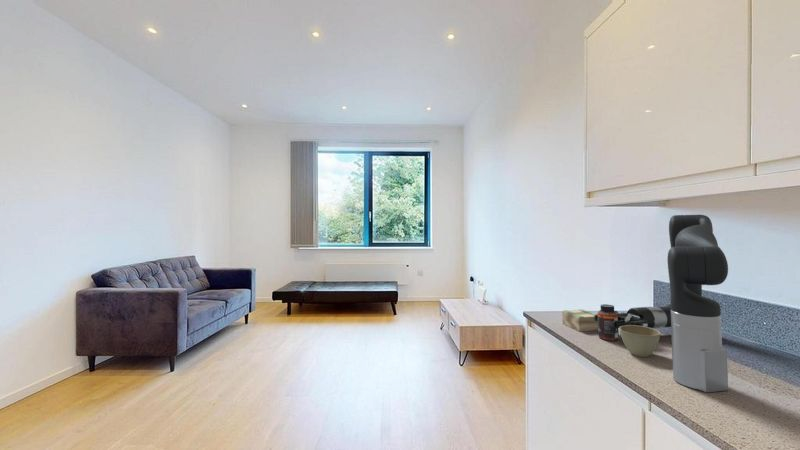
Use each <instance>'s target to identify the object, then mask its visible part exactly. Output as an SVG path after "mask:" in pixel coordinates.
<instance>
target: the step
mask: <svg viewBox="0 0 800 450" xmlns="http://www.w3.org/2000/svg"><path fill="white" fill-rule="evenodd" d="M561 313H562V325H564V324H565V326H566V325H567V326H566V327H568V328H571V329H573V330H575V329H576V330H575V331H577V330H578V331H577V332H588V331H598V321H595V314H596V313H594V312H590V311H587V310H585V309H574V310H573V309H572V310H567V309H565V310H562V311H561Z"/></svg>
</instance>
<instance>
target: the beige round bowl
mask: <svg viewBox="0 0 800 450" xmlns="http://www.w3.org/2000/svg"><path fill="white" fill-rule="evenodd" d="M618 330H619V333H620V334H619V335H620V337H621V339H622V341H623V344H624V346H625V347H626V349H627V351H628V352H629V353H630V354H631V355H634V356H637V357H641V358H643V357H644V358H645V357H646V358H648V357H650V356H651V355H652V354H653V353H654V352H655V350H656V348H657V346H658V345H659V341H660V338H661V337H660V336H661V332H660V331H659V330H658V329H652V328H649V327H644V326H636V325H625V326H621V327H620V328H618Z"/></svg>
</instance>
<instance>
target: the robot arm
mask: <svg viewBox="0 0 800 450" xmlns="http://www.w3.org/2000/svg"><path fill="white" fill-rule="evenodd" d="M668 222H669V223H668V234H669V243H670V248H669V250H668V252H667V260H666V261H667V269H668V270H667V271H668V278H669V280H668V281H669V288H670V289H669V292H670V293H669V294H670V304H667V305H665V306H640V307H638V306H637V307H630V308H629V309H628V310H627V311H626V312H625V311H624V312H619V311H617V310H614V311H615V312H616V313H617V314H618V321H613V322H612V326H613V328H618V329H619V328H620V327H621V326H625V325H636V326H644V327H649V328H652V329H655V330H659V329H662V328H663V329H664V328H671V329H670V330H671V331H670V332H671V333H670V334H671V355H672V356H671V357H672V360H671V361H672V377H673V378H672V379H673V380H674V381H675V382H677V383H679V384H680V385H682V386H684V387H688V388H690V389H695V390H699V391H702V392H704V393H714V392H724V391H729V370H728V349H726V348H725V347H723V339H722V335H723V334H722V314H721V304H720V303H719V302H718V301H715V300H714V299H711V298H707V297H705V296H703V294H702V293H703V292H702V291H703V289H702V287H703V286H718V285H722V284H723V283H724V282H725V281H726V280H727V277H728V275H729V264H728V260H727V256H726V254H725V253H724V251H723V250H722V249H721V248H720V246H719V244H718V239H717V238H716V236H715V234H714V228H713V223H712V220H711V218H710V217H709V216H708V215H704V214H675V215H672V216H671V217H670V219H669V221H668ZM594 314H595V321H598V313H594Z"/></svg>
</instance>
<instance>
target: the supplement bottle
mask: <svg viewBox="0 0 800 450" xmlns="http://www.w3.org/2000/svg"><path fill="white" fill-rule="evenodd" d="M615 311H616V310H615V306H614V305H613V304H608V303H606V304H604V303H603V304H600V310H597V314H598V330H597V331H598V337H599V339H601V340H604V341H609V342H610V341H619V339H620V338H619V337H620V336H619V335H620V334H619V333H620V332H619V328H613V326H612V322H613V321H618V314H617V313H616V312H615Z"/></svg>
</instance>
